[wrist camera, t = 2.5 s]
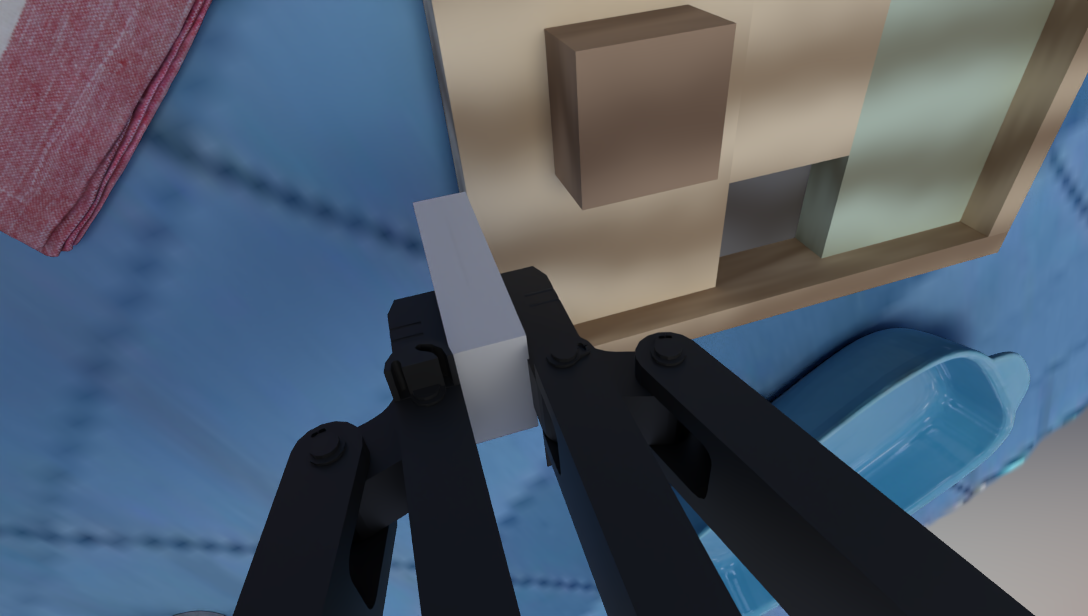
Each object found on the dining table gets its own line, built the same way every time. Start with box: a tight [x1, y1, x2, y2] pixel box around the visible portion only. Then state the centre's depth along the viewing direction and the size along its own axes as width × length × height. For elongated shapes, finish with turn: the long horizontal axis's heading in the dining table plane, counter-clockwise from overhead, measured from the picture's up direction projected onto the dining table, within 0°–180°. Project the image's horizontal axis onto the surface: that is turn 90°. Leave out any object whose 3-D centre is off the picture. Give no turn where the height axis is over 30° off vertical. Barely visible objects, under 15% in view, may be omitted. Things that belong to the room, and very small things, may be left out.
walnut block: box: [544, 5, 736, 210], centre depth 23 cm, size 6×6×4 cm
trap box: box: [423, 0, 1088, 352], centre depth 26 cm, size 27×32×5 cm
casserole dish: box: [671, 328, 1030, 616], centre depth 51 cm, size 37×22×7 cm, turn 134°
